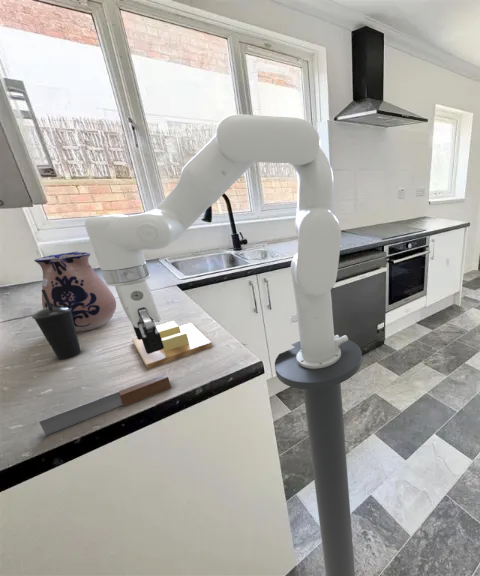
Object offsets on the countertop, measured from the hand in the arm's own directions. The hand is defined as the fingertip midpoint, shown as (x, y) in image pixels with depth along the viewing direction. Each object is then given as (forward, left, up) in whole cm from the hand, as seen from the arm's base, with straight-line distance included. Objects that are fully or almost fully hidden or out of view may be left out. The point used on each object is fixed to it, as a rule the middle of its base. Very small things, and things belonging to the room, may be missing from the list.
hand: (150, 343), depth 72 cm
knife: (+9, +2, -11) cm, 15 cm away
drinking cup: (+15, -36, -11) cm, 41 cm away
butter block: (-7, -24, -10) cm, 27 cm away
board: (-7, -20, -11) cm, 24 cm away
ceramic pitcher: (+9, -59, -11) cm, 61 cm away
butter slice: (-7, -15, -10) cm, 19 cm away
